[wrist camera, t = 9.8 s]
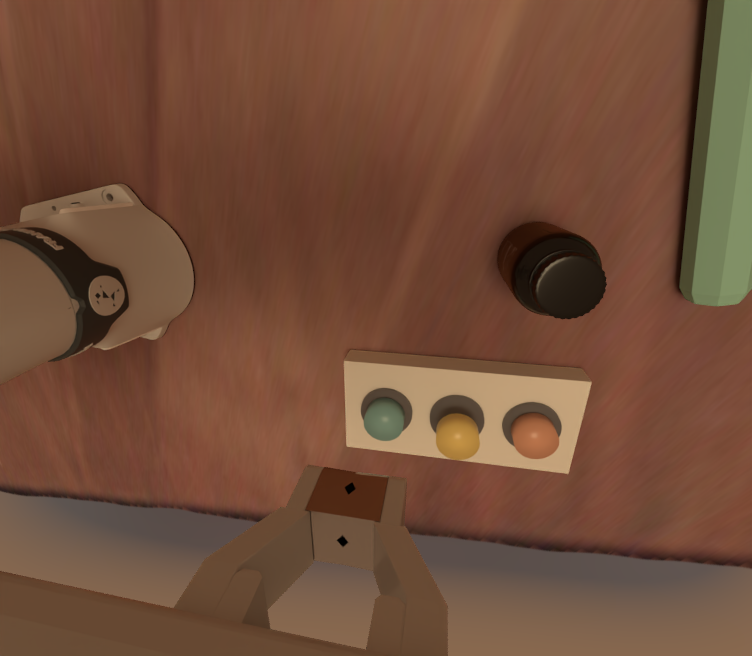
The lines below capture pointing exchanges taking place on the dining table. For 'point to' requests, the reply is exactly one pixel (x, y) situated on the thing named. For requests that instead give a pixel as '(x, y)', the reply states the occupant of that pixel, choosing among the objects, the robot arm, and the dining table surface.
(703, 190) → the container
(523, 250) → the supplement bottle
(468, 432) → the mustard button
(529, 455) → the terracotta button
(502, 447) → the button panel
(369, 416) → the teal button
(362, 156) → the dining table surface
